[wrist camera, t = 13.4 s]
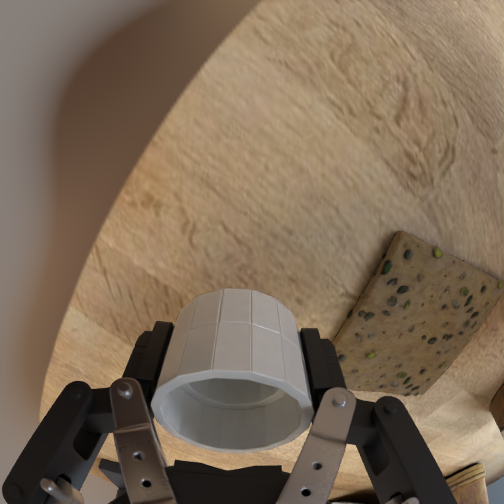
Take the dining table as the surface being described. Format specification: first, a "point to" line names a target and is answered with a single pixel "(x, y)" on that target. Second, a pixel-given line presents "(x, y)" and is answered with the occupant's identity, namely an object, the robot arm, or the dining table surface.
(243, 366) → the white cup
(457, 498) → the tankard
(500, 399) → the wooden container
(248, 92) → the dining table surface
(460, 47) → the dining table surface
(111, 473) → the scale
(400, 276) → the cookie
